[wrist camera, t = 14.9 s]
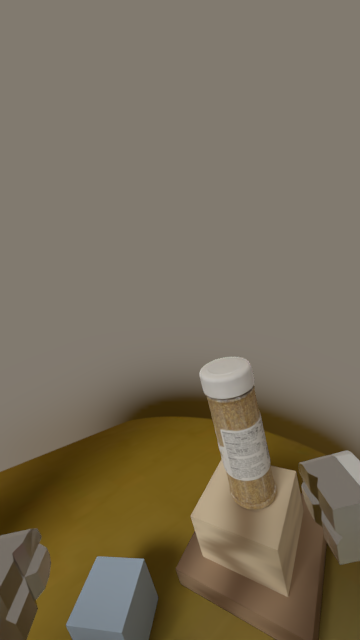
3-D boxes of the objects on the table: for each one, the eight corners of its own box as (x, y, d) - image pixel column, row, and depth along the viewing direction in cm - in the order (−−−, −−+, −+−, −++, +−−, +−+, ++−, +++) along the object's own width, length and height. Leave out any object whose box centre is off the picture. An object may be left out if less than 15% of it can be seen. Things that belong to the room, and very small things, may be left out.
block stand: (180, 584, 26) (161, 528, 25) (227, 485, 36) (215, 441, 34) (316, 662, 19) (301, 592, 18) (329, 514, 29) (320, 460, 27)
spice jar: (233, 471, 29) (204, 357, 26) (277, 473, 27) (252, 352, 24) (227, 510, 25) (192, 380, 22) (279, 516, 23) (248, 375, 20)
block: (86, 667, 22) (65, 625, 21) (112, 593, 27) (97, 556, 26) (140, 677, 21) (121, 632, 20) (158, 598, 26) (144, 558, 25)
